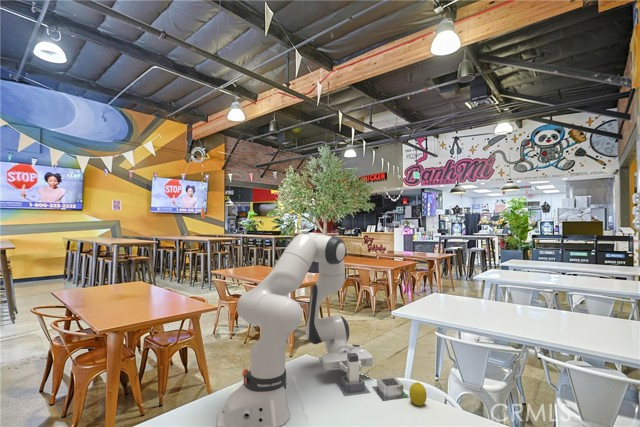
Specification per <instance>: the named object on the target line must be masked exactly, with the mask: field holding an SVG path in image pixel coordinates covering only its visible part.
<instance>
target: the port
mask: <svg viewBox="0 0 640 427" xmlns="http://www.w3.org/2000/svg"><path fill="white" fill-rule="evenodd" d="M371 388H372V390H373V391H374V392H375V393H376V394H377V395H378V397H379V399H381V401H382V402H388V401H394V400H402V399H409V398H410V395H409V393H406V392H405V391H404V384H403V383H402V382H401V381H400V380H399V379H398V378H397V377H396V376H385V377H378V378H377V379H376V385H375V386H371Z"/></svg>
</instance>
